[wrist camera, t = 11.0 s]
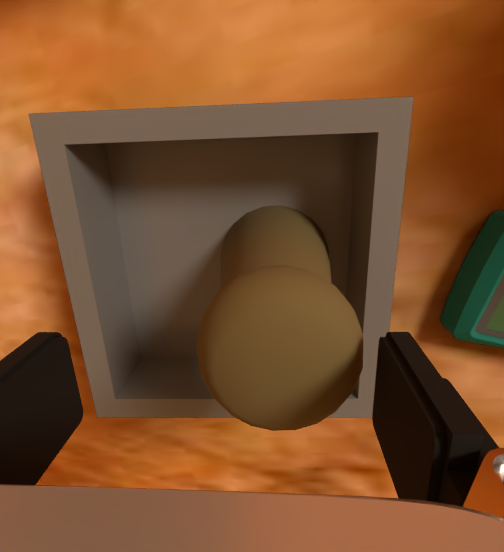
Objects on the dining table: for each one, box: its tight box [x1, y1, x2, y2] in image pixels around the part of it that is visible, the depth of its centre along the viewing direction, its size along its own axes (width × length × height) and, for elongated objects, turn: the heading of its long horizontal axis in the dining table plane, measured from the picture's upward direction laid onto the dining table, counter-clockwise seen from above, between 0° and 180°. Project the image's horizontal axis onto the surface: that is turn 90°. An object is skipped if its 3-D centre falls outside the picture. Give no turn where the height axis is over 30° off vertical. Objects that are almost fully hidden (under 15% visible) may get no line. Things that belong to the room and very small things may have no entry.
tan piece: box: [197, 205, 363, 430], centre depth 15 cm, size 6×6×11 cm
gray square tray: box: [29, 97, 414, 418], centre depth 19 cm, size 15×15×5 cm
